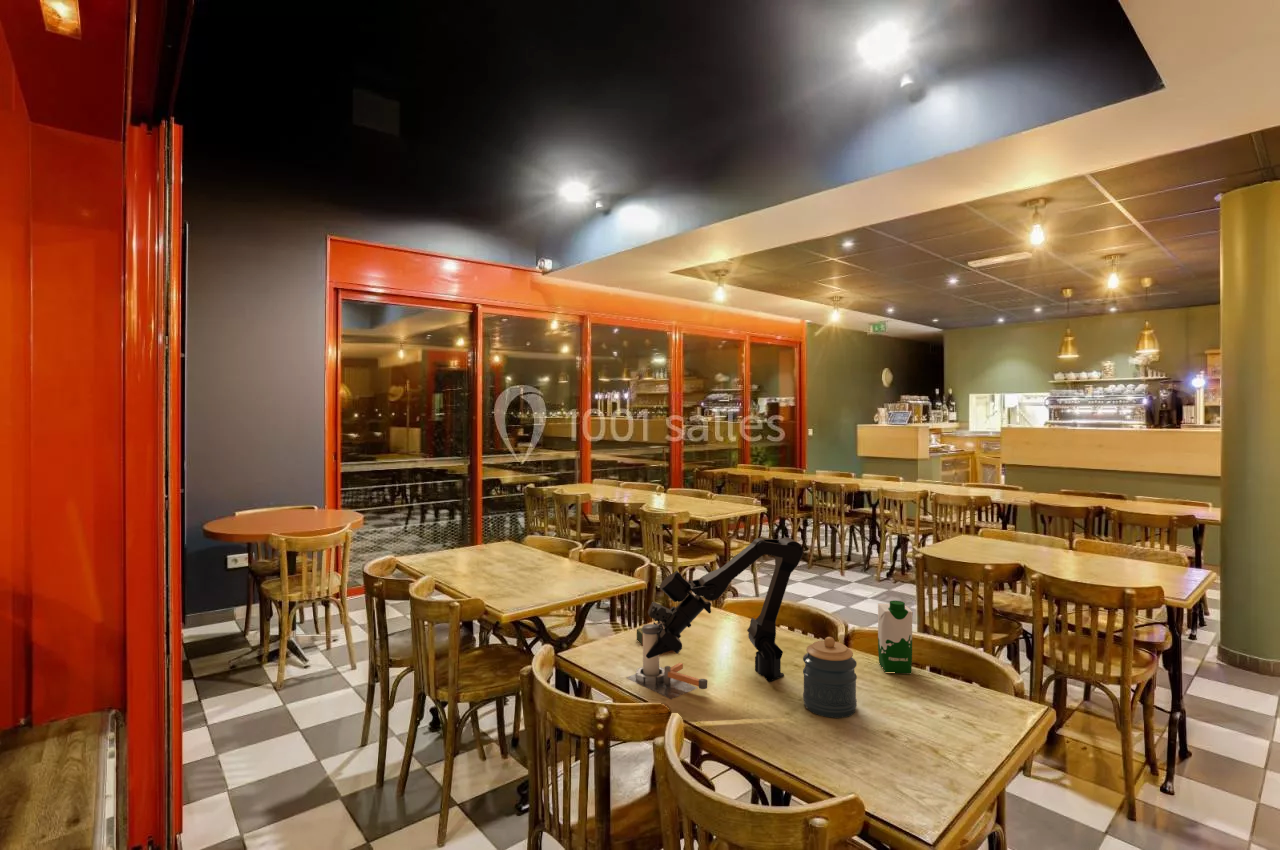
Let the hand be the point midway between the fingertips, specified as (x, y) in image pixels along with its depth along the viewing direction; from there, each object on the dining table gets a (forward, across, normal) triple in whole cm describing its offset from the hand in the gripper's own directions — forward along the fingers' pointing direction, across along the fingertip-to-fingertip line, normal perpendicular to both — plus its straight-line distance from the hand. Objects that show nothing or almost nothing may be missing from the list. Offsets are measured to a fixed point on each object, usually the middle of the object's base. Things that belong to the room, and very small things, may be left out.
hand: (646, 653), depth 174 cm
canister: (-26, +20, +37) cm, 49 cm away
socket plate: (+3, +3, +8) cm, 9 cm away
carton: (+2, -26, +10) cm, 28 cm away
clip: (-3, +6, +13) cm, 15 cm away
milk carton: (-46, -1, +57) cm, 73 cm away
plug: (+4, 0, +6) cm, 7 cm away
